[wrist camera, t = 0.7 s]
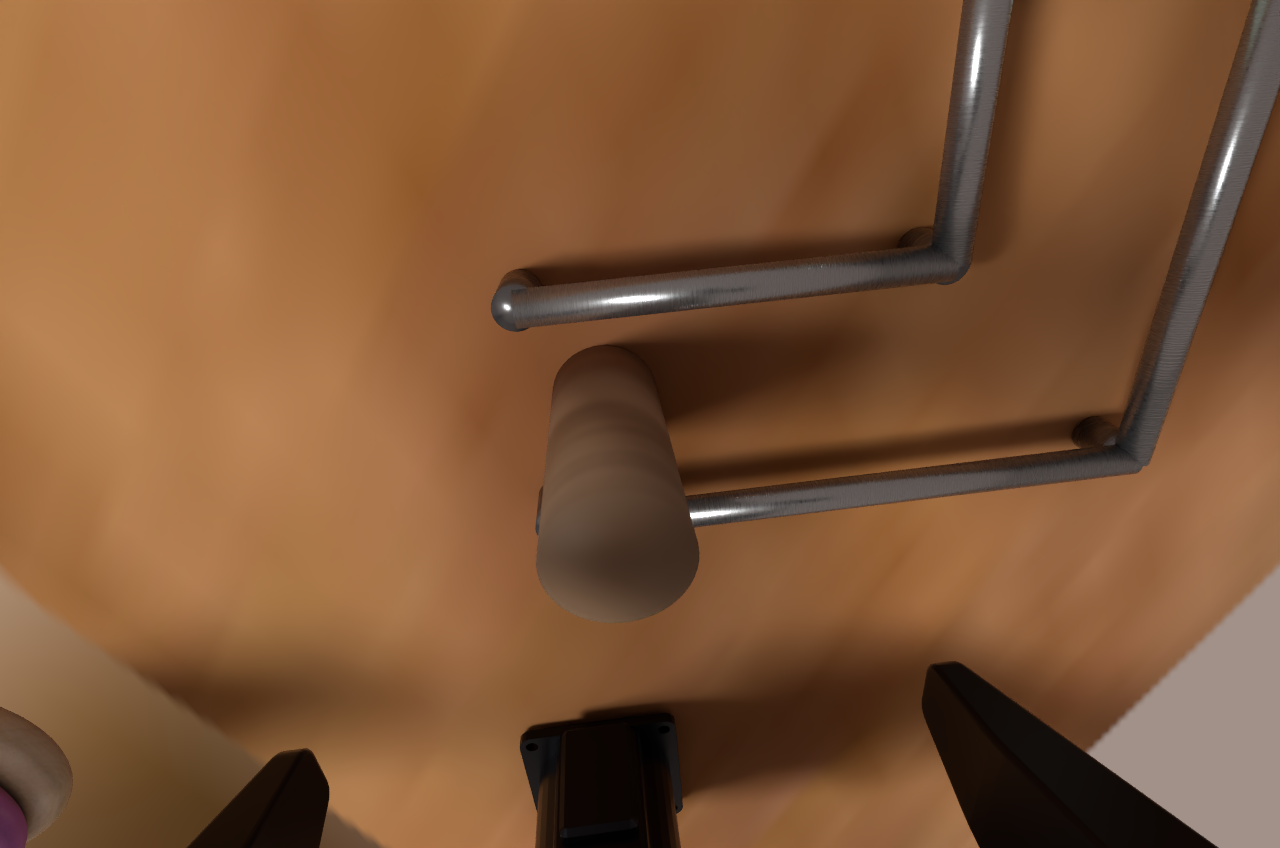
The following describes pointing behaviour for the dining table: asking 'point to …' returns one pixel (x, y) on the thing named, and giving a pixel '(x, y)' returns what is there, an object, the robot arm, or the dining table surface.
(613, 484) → the walnut peg
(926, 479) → the rail leg
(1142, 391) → the rails leg
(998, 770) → the robot arm
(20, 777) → the stacking toy
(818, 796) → the dining table surface
